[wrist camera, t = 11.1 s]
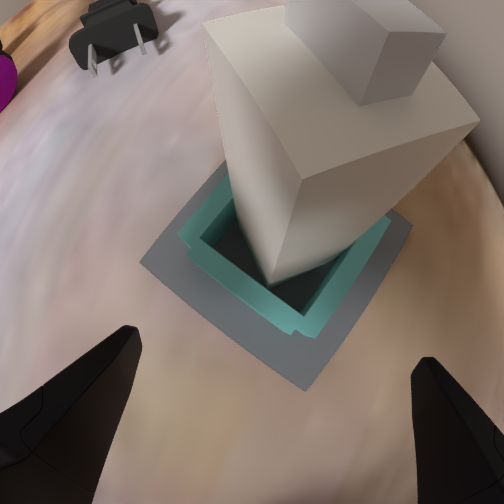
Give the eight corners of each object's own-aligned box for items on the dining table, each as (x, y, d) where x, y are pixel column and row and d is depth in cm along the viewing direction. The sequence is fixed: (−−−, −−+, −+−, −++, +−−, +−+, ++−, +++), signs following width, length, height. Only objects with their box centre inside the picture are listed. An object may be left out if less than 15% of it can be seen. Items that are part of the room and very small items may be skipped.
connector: (331, 260, 17) (521, 74, 2) (267, 290, 16) (326, 97, 2) (301, 200, 17) (375, -46, 3) (238, 225, 17) (191, -38, 3)
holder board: (407, 229, 18) (436, 209, 14) (303, 388, 16) (315, 406, 12) (261, 128, 20) (262, 92, 16) (143, 264, 17) (117, 250, 14)
